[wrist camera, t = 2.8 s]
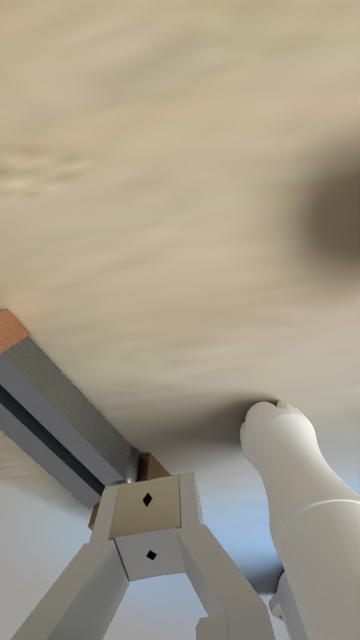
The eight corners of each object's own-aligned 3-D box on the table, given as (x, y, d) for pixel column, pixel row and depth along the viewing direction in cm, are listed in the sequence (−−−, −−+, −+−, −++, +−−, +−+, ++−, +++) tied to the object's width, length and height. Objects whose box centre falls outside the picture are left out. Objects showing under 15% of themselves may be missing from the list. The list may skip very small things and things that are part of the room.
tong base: (175, 480, 30) (175, 525, 25) (128, 506, 31) (119, 554, 26) (13, 304, 23) (-29, 320, 18) (-41, 345, 24) (-93, 370, 19)
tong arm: (145, 457, 29) (140, 493, 25) (126, 468, 29) (119, 504, 25) (7, 308, 23) (-27, 322, 19) (-13, 323, 23) (-51, 340, 19)
